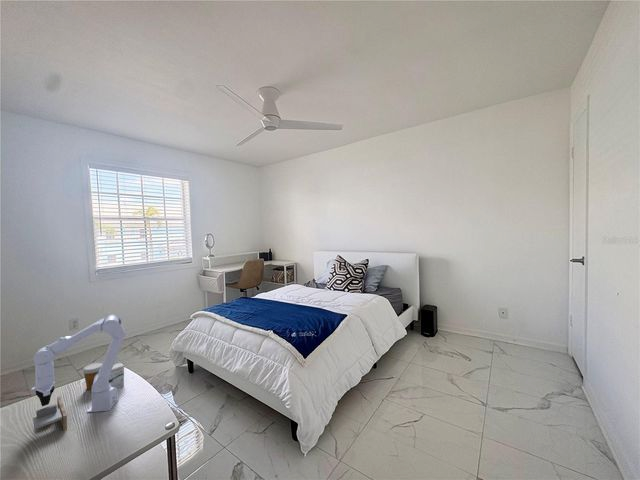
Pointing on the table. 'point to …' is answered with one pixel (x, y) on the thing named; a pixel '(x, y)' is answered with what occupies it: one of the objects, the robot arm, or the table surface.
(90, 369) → the disposable coffee cup
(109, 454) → the table surface
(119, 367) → the ink box
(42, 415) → the slate cover
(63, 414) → the walnut track wall
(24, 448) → the table surface
